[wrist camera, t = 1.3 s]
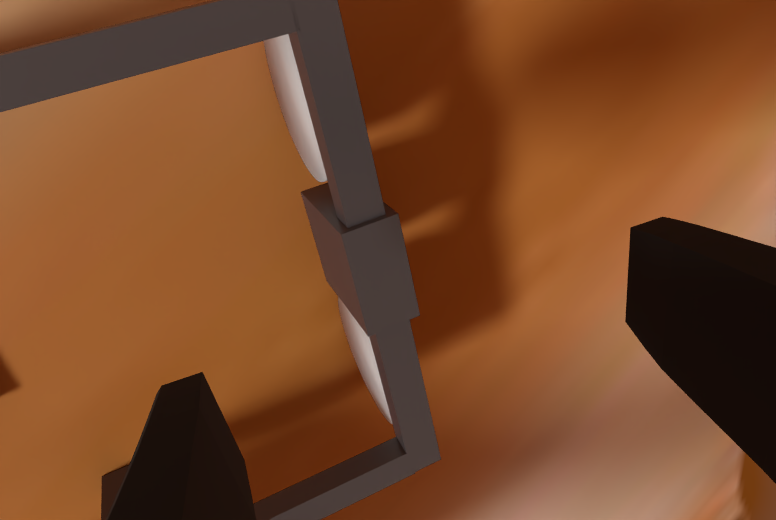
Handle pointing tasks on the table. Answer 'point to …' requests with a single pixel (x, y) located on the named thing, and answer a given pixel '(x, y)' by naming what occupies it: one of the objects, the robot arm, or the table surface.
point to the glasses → (323, 203)
